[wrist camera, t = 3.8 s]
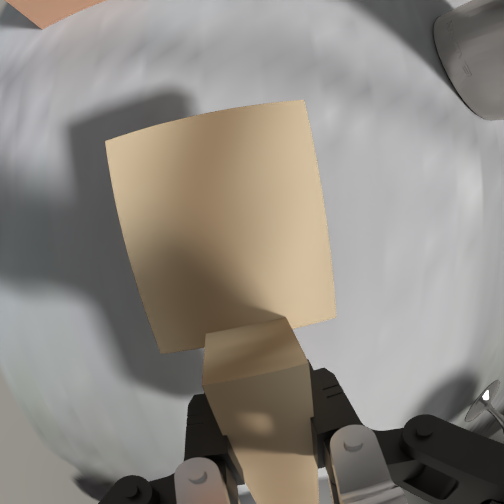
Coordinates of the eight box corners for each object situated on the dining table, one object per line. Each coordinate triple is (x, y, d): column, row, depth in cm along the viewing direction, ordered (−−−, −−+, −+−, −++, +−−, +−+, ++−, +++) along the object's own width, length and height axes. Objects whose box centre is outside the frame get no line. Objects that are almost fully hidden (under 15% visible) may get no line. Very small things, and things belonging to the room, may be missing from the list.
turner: (295, 108, 8) (337, 67, 5) (332, 450, 12) (352, 497, 9) (116, 145, 8) (61, 125, 4) (227, 472, 12) (231, 523, 8)
